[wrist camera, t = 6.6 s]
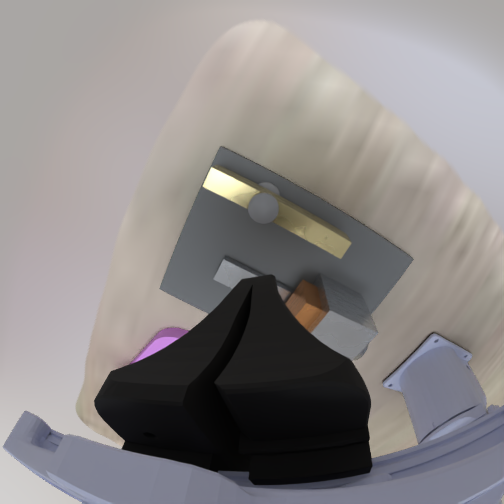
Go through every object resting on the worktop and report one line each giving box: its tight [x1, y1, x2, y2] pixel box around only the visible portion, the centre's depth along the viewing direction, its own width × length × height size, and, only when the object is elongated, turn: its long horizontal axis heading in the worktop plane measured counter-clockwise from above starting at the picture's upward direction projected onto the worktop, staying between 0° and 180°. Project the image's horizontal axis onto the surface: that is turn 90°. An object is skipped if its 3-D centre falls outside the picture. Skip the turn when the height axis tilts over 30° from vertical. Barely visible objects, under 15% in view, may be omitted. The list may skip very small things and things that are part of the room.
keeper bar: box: [203, 164, 352, 259], centre depth 16 cm, size 9×1×2 cm, turn 63°
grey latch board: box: [160, 146, 414, 314], centre depth 18 cm, size 16×12×4 cm
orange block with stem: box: [286, 280, 368, 360], centre depth 18 cm, size 7×5×3 cm
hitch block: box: [214, 255, 378, 361], centre depth 18 cm, size 12×6×5 cm, turn 63°
